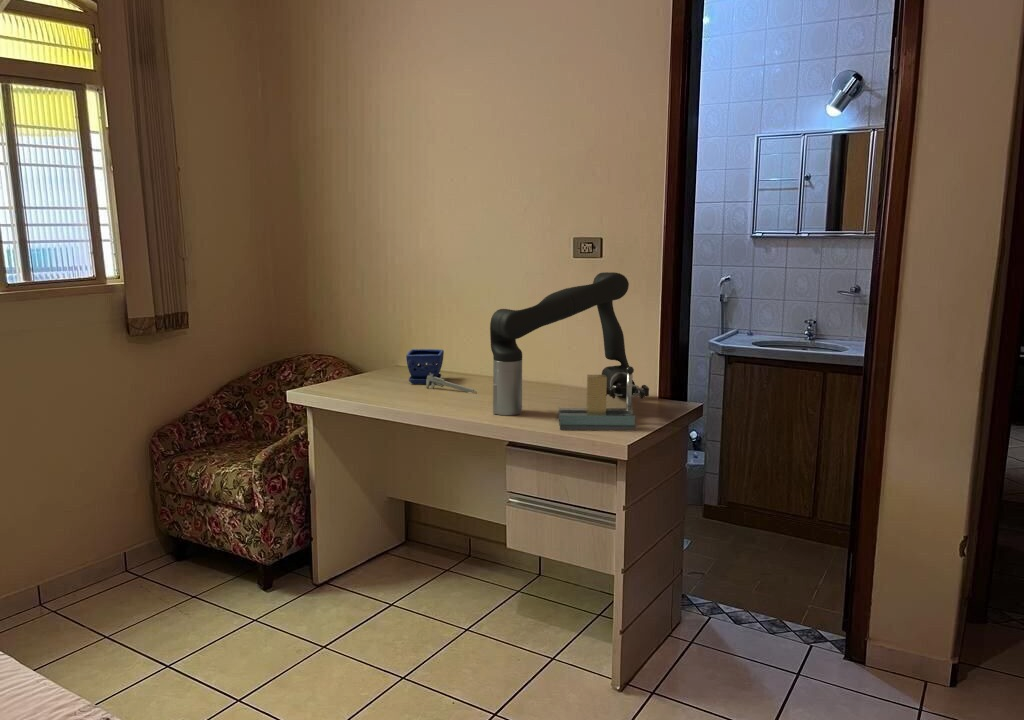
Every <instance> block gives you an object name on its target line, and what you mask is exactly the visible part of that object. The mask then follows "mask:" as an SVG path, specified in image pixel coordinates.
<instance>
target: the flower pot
mask: <svg viewBox="0 0 1024 720" xmlns="http://www.w3.org/2000/svg"><path fill="white" fill-rule="evenodd" d="M444 354H445V352H444V349H435V348H434V349H431V348H430V349H429V348H427V349H425V348H423V349H422V348H420V349H418V348H412V349H410V350H409V351H408V352H407V354H406V355H405V357H406V360H405V361H406V364H407V369H408V372H409V374H410V376H409V378H408V381H409V383H410V384H413V385H426V380H427V376H428V375H429V373H431V374H434V375H433V377H438V378H441V376H442V373H440V372H441V369H442V366H443V363H444V362H443V361H444V356H445V355H444ZM431 384H432V381H430V385H431Z"/></svg>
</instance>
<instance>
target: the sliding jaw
mask: <svg viewBox="0 0 1024 720" xmlns="http://www.w3.org/2000/svg"><path fill="white" fill-rule="evenodd" d="M626 372H627V395H626V399H625V408H622V407H621V408H619V407H618V408H617V407H616V408H613V407H611V408H607V407H606V413H607V414H633V410H632V405H633V403H632V402H633V400H632V399H633V398H632V397H633V396H632V380H633V377H632V376H633V373H634V372H635V370H634V367H633V366H631V365H629V367H627V368H626ZM586 410H587V407H558V414H559V419H560V413H586Z"/></svg>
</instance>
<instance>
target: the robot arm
mask: <svg viewBox="0 0 1024 720" xmlns="http://www.w3.org/2000/svg"><path fill="white" fill-rule="evenodd" d="M629 285H630V283H629V280H628V278H627V277H626V276H625V275H624V274H622V273H620V272H610V271H609V272H600V273H598V274H597V275H596V276H595V277H594V278H593V281H592V283H589V284H583V285H578V286H577V285H576V286H571V287H567V288H566V287H565V288H563V289H560V290H557V291H555V292H552V293H550V294H548V295H546V296H545V297H544V298H543V299H542V300H540V302H539V303H537V304H535V305H533V306H530V307H527V308H523V309H510V308H509V309H508V308H500V309H497V310H496V311H494V313H493V314H492V316H491V319H490V323H489V336H490V351H491V353H492V357H493V360H492V361H493V368H492V369H493V370H492V371H493V380H492V381H493V385H492V414H493V415H500V416H516V415H520V414H522V413H523V352H522V349H520V347H519V345H518V344H517V342H516V341H517V340H518V339H520V338H521V339H522V337H525V336H526V335H528V334H530V333H532V332H534V331H535V330H536V331H537V329H540V328H542V327H544V326H548V325H551V324H554V323H558V321H562V320H565V319H568V318H570V317H573V316H575V315H578V314H579V313H582V312H584V311H587V310H589V309H591V308H593V307H597V312H598V316H599V320H600V323H601V329H602V337H603V346H604V347H603V348H604V357H605V359H607V360H609V361H617V362H619V363H620V364H619V365H610V366H606V367H604V368H603V369H602V370H601V374H600V375H606V377H607V390H606V397H608V395H609V397H611V398H612V399H616V398H618V399H621V400H623V399H625V400H626V395H627V372H626V368H627V367H629V366H630V364H629V362H628V358H627V355H626V347H625V346H626V345H625V336H624V331H623V329H622V326H621V324H620V323H619V320H618V318H617V315H616V313H615V310H614V309H615V308H614V302H613V301H616V300H620V299H622V298H623V297H624V296H625V295H626V294H627V292H628V290H629ZM633 377H634V376H633V375H632V378H633ZM649 392H650V388H649V387H648V386H647V385H646V384H642V385H640V386H639V385H637V384H636V383H635V381H634V380H633V379H632V397H639V398H640V399H641V400H643V399H644V398H646V397H649V396H650V393H649Z"/></svg>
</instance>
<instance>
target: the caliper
mask: <svg viewBox="0 0 1024 720" xmlns="http://www.w3.org/2000/svg"><path fill="white" fill-rule="evenodd" d="M433 375H434V374H431V373H429V375H428V376H427V380H426V384H425V385H426V387H425V388H426V389H430V390H433V389H434V388H435V386H436V385H437V386H438V387H441V388H443V387H444V386H445V387H449V388H452V389H456V390H459V391H463V392H465V393H468V392H474V393H473V394H477V393H476V392H477V390H476V391H475V388H474V389H473V388H470V387H466V386H463V385H460V384H458V383H453V382H450V381H446V380H445V379H443V378H441V377H440V378H438V377H433ZM430 381H432V384H430Z"/></svg>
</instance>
